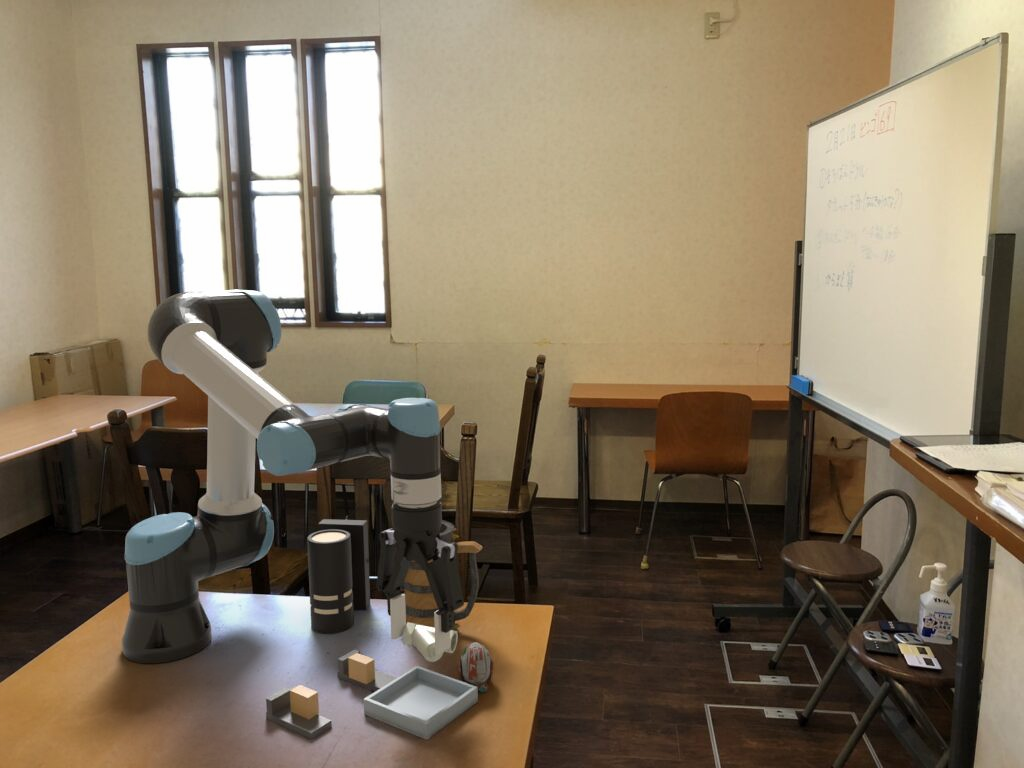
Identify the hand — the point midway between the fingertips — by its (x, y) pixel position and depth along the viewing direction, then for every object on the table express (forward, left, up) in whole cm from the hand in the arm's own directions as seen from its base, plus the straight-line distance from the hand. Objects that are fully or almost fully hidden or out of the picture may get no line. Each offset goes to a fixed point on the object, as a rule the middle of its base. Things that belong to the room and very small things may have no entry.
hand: (420, 642), depth 127 cm
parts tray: (0, 0, -11) cm, 11 cm away
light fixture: (-35, +16, -11) cm, 40 cm away
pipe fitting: (0, +1, -2) cm, 3 cm away
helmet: (+3, +11, -11) cm, 16 cm away
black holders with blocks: (-13, -6, -11) cm, 18 cm away
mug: (-15, +23, -11) cm, 30 cm away
